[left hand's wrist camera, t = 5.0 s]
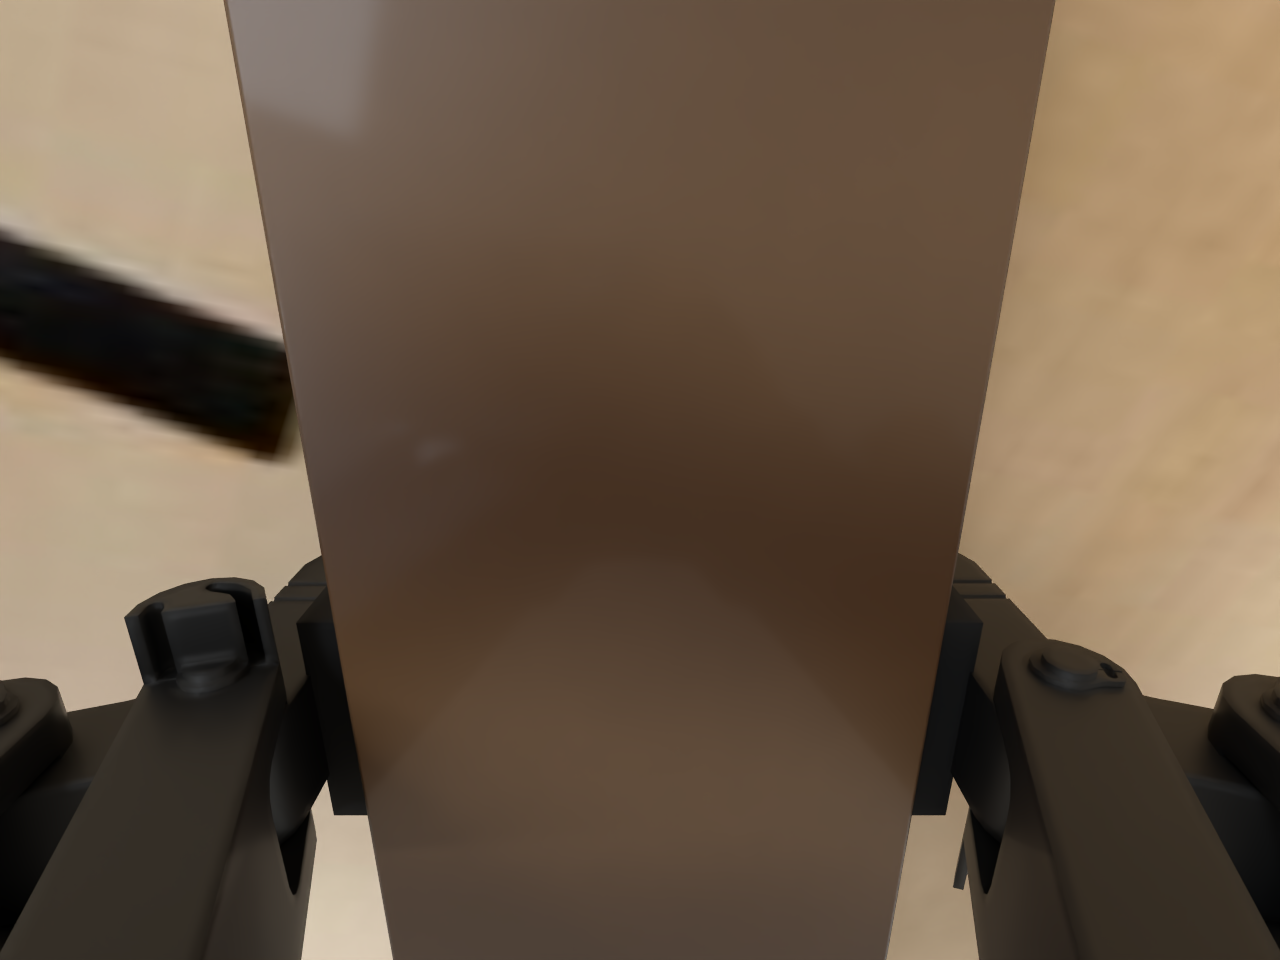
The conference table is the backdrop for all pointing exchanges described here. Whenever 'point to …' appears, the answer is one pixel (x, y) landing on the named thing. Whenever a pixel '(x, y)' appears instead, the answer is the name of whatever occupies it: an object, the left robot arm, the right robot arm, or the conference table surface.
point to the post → (639, 439)
